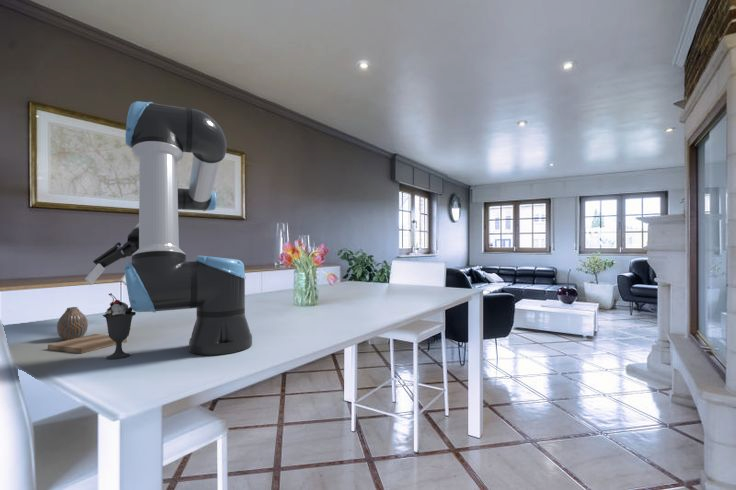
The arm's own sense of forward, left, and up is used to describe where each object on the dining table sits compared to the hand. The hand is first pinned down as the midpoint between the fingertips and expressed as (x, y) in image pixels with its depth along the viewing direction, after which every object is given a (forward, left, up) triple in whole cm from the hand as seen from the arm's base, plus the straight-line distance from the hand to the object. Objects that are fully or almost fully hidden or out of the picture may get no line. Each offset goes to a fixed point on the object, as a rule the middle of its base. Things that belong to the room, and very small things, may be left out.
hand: (105, 282), depth 119 cm
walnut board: (-13, +15, -15) cm, 24 cm away
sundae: (-30, +20, -15) cm, 39 cm away
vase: (-1, +11, -15) cm, 18 cm away
